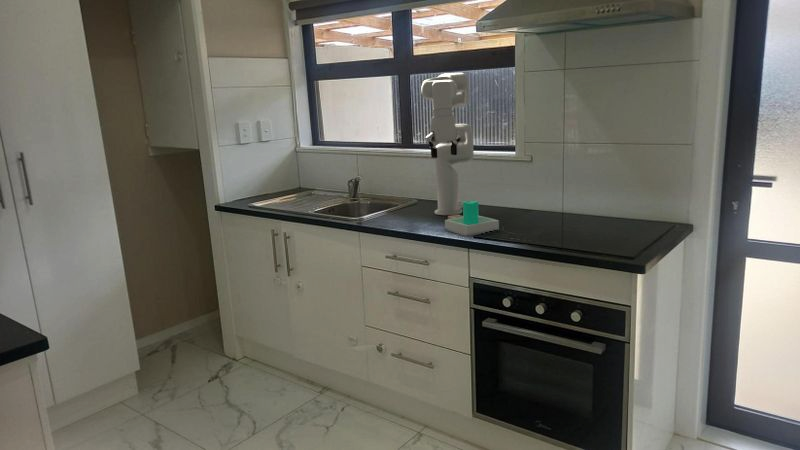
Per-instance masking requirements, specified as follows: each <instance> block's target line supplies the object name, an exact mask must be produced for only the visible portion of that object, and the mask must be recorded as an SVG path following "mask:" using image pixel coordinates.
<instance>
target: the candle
mask: <svg viewBox="0 0 800 450" xmlns="http://www.w3.org/2000/svg"><path fill="white" fill-rule="evenodd" d="M462 203H463V207H462V216H463V224H465V225H472V224H477V223H479V216H480V214H479V201H478V200H472V197H470V199H469V200H466V201H462Z"/></svg>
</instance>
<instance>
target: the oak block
mask: <svg viewBox="0 0 800 450" xmlns="http://www.w3.org/2000/svg"><path fill="white" fill-rule="evenodd" d="M459 217H463V215H461V214H457V215H447V220H448V219H453V218H459Z"/></svg>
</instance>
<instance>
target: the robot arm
mask: <svg viewBox="0 0 800 450" xmlns="http://www.w3.org/2000/svg"><path fill="white" fill-rule="evenodd" d="M420 89H421V96H422V98H423V99H424V100H426V101H431V107H432V115H433V116H432V117H431V119H430V127H429V134H427V135H426V136H425V137H424V140H425V141H426V144H427V146H429V148H430V154H431V155H430V156H431V158H433V159H434V162H435V170H436V193H437V209H435V210H434V214H435V215H438V216H452V215H461V214H463V202H460V199H459V198H460V196H459V175H458V174H459V173H458V171H457V170H456V168H454V166H453V165H464V164H465V165H467V164H471V163H472V162H473V160H474V136H473V135H474V133H473V127H472V126H471V125H470V124H467V123H457V118H456V115H454V114H453V113H454V112H455V109H456V108H465V107H467V106H468V105H469V103H470V82H469V78H468V76H467V74H466V73H464V72H451V73H448V72H447V73H442V74H439V76H435V77H431V78H428V79H425V80H424V81H423V82H422V84H421V88H420ZM454 108H455V109H454Z"/></svg>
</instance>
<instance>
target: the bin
mask: <svg viewBox="0 0 800 450" xmlns="http://www.w3.org/2000/svg"><path fill="white" fill-rule="evenodd" d="M493 230H498V231H500V220H498V219H495V218H491V217H486V216H483V215H479V223H477V224H472V225H465V224H463V217H459V218H453V219H448V218H447V219H445V220H444V231H448V232H452V233H455V234H458V235H460V236H465V237H471V236H472V237H473V236H476V235H481V233H483V234H486V233H485V232H488V233H490V232H489V231H493ZM493 232H494V231H493Z"/></svg>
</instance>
